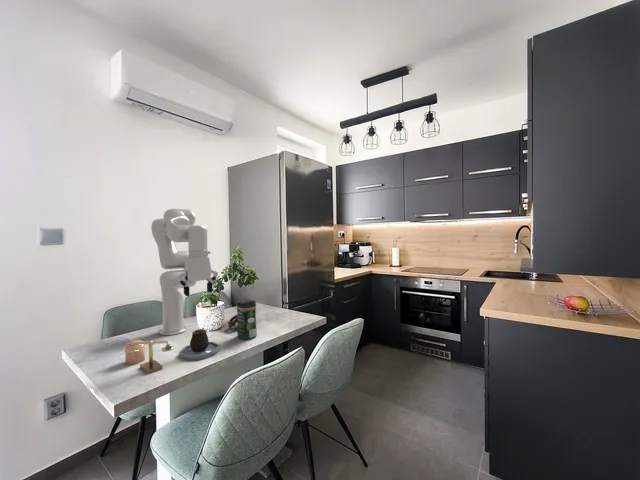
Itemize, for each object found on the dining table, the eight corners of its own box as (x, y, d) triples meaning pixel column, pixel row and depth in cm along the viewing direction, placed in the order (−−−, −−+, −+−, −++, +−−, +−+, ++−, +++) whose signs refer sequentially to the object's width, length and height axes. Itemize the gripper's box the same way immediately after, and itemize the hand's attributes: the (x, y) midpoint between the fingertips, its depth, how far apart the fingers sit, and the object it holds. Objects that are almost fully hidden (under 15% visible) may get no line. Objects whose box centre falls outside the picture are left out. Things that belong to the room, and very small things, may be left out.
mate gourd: (203, 345, 123) (203, 322, 123) (212, 349, 118) (212, 326, 118) (187, 350, 117) (186, 326, 117) (195, 355, 112) (195, 330, 112)
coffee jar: (234, 336, 136) (234, 298, 136) (249, 332, 142) (248, 295, 142) (244, 341, 129) (243, 301, 129) (259, 337, 135) (258, 298, 134)
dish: (174, 353, 117) (174, 349, 117) (208, 343, 128) (208, 339, 128) (189, 363, 107) (189, 359, 107) (225, 351, 118) (225, 347, 118)
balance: (123, 372, 100) (122, 341, 100) (169, 358, 112) (168, 330, 112) (129, 380, 95) (128, 346, 95) (177, 364, 107) (176, 334, 107)
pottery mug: (246, 331, 144) (238, 319, 142) (231, 339, 145) (222, 327, 144) (252, 319, 156) (244, 307, 154) (238, 326, 157) (230, 314, 155)
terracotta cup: (122, 362, 109) (122, 342, 109) (140, 356, 114) (140, 337, 114) (129, 366, 106) (129, 346, 105) (147, 360, 111) (147, 341, 111)
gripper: (213, 252, 129) (213, 289, 129) (173, 254, 116) (173, 295, 116) (221, 253, 123) (221, 291, 124) (180, 256, 111) (181, 298, 111)
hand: (198, 293), depth 120 cm, fingers open, 9 cm apart
